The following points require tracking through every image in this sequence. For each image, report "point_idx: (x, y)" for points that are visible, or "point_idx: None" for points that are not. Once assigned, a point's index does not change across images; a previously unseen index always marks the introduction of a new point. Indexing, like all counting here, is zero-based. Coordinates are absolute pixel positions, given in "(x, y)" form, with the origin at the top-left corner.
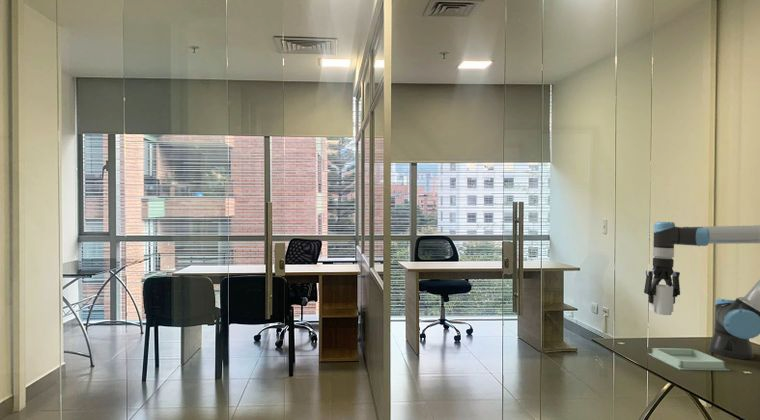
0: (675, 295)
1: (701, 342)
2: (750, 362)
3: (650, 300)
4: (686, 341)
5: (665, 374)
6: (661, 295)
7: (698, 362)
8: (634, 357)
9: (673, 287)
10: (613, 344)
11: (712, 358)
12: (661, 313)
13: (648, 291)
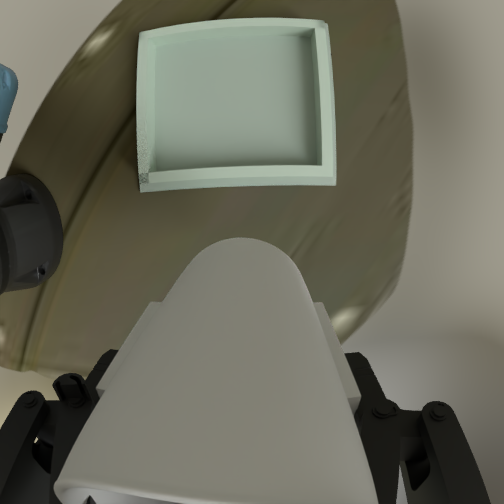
0: (71, 390)
1: (50, 334)
2: (22, 147)
3: (371, 371)
4: (84, 345)
5: (396, 5)
6: (328, 363)
7: (249, 19)
8: (408, 148)
9: (52, 482)
10: (383, 298)
11: (147, 74)
12: (287, 256)
13: (453, 424)
